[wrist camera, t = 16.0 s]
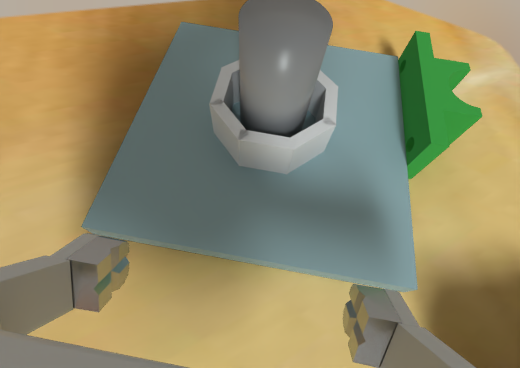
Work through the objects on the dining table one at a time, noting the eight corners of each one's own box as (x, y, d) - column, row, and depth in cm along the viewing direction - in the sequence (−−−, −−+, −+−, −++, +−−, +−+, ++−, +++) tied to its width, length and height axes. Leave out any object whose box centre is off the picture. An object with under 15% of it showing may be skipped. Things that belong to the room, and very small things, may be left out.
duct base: (93, 233, 18) (49, 208, 14) (184, 36, 27) (174, -14, 23) (403, 292, 17) (453, 283, 13) (389, 70, 26) (416, 24, 22)
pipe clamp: (443, 186, 21) (492, 154, 17) (394, 178, 21) (431, 143, 17) (428, 81, 26) (463, 36, 22) (389, 75, 26) (416, 29, 22)
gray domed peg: (234, 144, 19) (229, 41, 12) (246, 96, 22) (248, -15, 14) (298, 155, 19) (330, 58, 12) (304, 106, 21) (335, -1, 14)
